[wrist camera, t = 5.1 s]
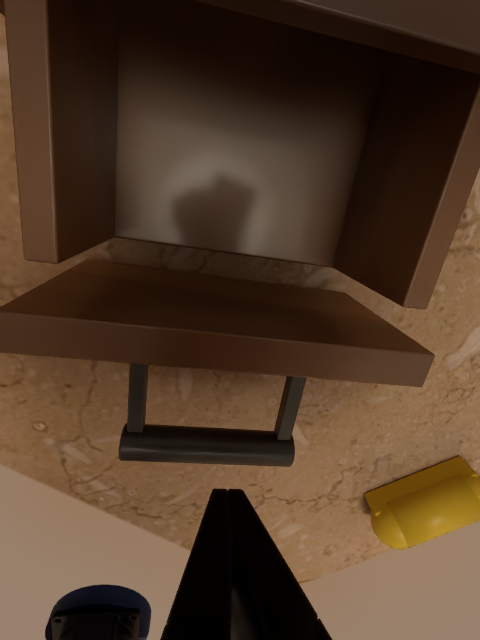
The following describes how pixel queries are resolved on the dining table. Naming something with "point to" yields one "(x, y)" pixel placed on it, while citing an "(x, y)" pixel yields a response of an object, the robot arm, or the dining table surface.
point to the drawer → (228, 199)
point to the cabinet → (381, 24)
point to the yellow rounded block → (425, 504)
